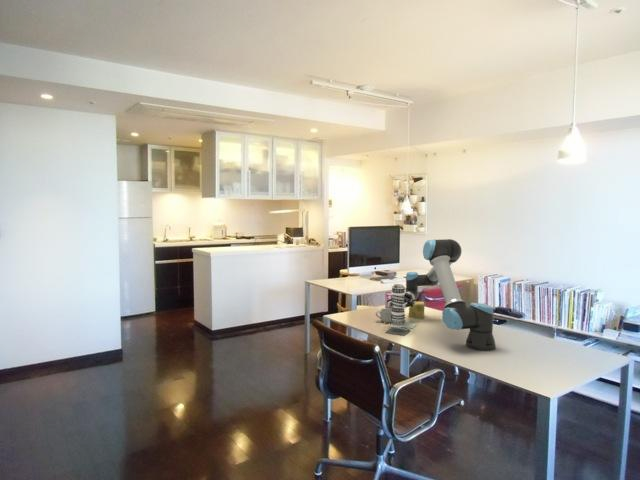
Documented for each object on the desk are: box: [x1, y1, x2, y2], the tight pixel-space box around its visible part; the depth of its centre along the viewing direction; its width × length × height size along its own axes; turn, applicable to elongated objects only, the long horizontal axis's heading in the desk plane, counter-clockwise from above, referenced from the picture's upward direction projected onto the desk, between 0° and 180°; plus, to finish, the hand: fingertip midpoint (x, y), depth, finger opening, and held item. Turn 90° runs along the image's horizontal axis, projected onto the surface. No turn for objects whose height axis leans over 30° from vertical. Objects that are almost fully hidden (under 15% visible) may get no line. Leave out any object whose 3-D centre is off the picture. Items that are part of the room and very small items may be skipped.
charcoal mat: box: [384, 326, 411, 337], centre depth 260 cm, size 12×12×1 cm
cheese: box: [407, 300, 426, 320], centre depth 296 cm, size 10×11×10 cm
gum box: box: [384, 291, 392, 309], centre depth 302 cm, size 24×8×14 cm, turn 174°
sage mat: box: [401, 321, 419, 330], centre depth 274 cm, size 12×12×1 cm
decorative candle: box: [390, 283, 406, 328], centre depth 259 cm, size 9×9×25 cm
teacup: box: [375, 307, 392, 324], centre depth 282 cm, size 14×11×8 cm
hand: (395, 306), depth 255 cm, fingers closed on decorative candle, 9 cm apart
